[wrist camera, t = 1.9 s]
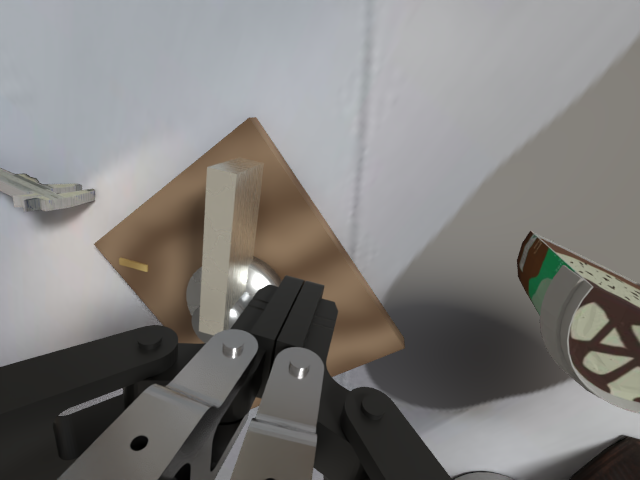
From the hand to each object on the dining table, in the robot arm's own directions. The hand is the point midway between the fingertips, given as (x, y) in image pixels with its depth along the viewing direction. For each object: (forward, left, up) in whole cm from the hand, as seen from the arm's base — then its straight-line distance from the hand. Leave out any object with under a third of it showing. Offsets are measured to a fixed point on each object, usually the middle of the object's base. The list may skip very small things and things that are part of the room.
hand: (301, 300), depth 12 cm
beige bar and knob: (+1, +10, -15) cm, 18 cm away
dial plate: (-2, +13, -17) cm, 22 cm away
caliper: (+21, +28, -17) cm, 39 cm away
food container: (-15, -11, -17) cm, 25 cm away
